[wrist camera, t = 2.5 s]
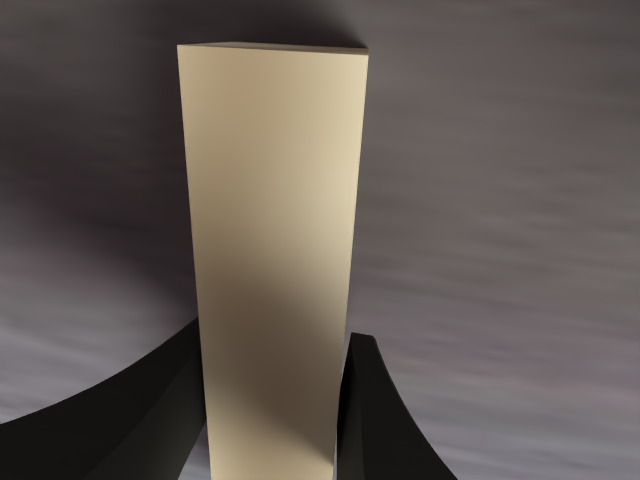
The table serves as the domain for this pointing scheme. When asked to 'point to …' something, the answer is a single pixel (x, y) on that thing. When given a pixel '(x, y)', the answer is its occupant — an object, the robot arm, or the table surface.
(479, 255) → the table surface
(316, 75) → the maple bar
